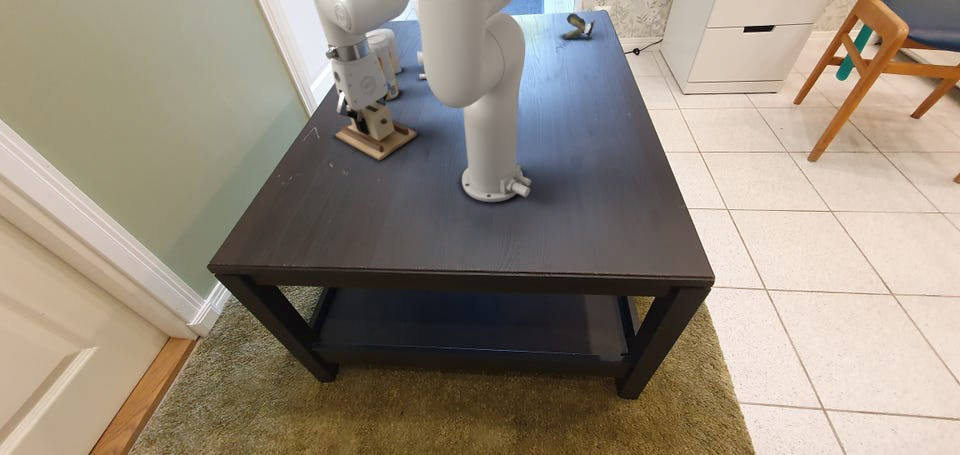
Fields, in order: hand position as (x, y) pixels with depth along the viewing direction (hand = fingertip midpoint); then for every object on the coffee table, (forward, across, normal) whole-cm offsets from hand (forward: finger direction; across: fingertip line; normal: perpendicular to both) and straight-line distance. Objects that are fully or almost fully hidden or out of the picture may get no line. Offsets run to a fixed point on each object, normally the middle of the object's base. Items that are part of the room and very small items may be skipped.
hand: (373, 126), depth 88 cm
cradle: (+3, 0, 0) cm, 3 cm away
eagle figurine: (+3, +76, -13) cm, 77 cm away
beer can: (+3, +15, +12) cm, 19 cm away
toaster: (+1, 0, 0) cm, 1 cm away
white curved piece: (+3, +23, +22) cm, 32 cm away
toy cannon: (+3, +32, +7) cm, 33 cm away
